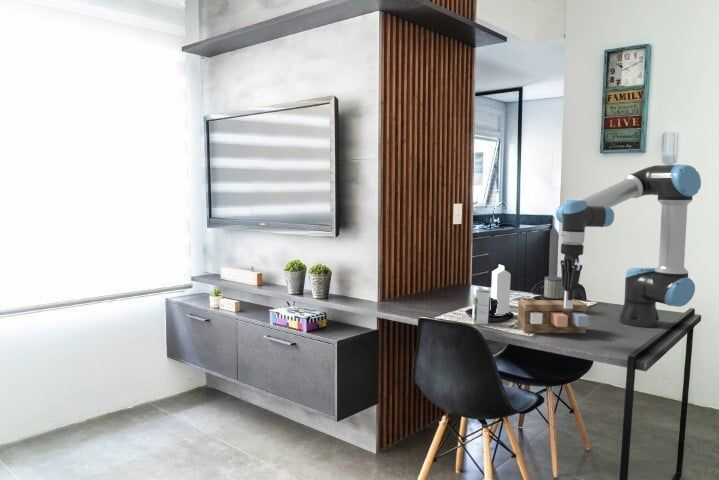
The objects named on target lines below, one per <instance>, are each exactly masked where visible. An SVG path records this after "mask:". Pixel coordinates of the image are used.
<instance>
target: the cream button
mask: <svg viewBox="0 0 719 480" xmlns="http://www.w3.org/2000/svg"><path fill="white" fill-rule="evenodd" d="M542 316H543V314H542V313H541V312H539V311H529V322H530V323H531V324H542Z"/></svg>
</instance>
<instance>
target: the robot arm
mask: <svg viewBox="0 0 719 480" xmlns="http://www.w3.org/2000/svg"><path fill="white" fill-rule="evenodd" d="M701 185H702V180H701V175H700V173H699V171H697V170H696V168H695V167H694V166H692V165H688V164H681V163H680V164H665V165H663V164H662V165H659V164H658V165H652V166H647V167H645V168H642V169H640V170H638V171H636V172H633V173H630V174H629V175H627V176H625V177H624V178H623V180H622V181H619V182H617V183H615V184H613V185H610V186H608V187H606V188H605V189H604V188H603V189H602V190H599V191H597V192H595V193H593V194H591V195H588V196H586V197H584V198H582V199H578V200H577V199H566V200H565V201H564V203H563V204H560V205H559V206H558V207H557V209H556V210H555V218H556V220H557V221H558V222H559V223H561V224H562V227H561V228H562V229H561V234H560V237H561V242H562V243H561V244H560V254H561V255H562V254H563V255H564V257H563V259H562V260H560V267H561V277H562V287H564V308H565V309H573V300H574V296H575V295H574V293H575V291H578V287H579V281H580V278H581V272H582V270H583V265H582V264H580V256H582V255H583V254H584V243H585V234H586V233H585V231H586V230H585V229H586V228H587V227H590V228H605V227H607V228H608V227H609V226H611V225H612V224H613V223H614V220H615V212H614V210H613V209H612V207H614V206H617V205H619V204H621V203H623V202H625V201H627V200H629V199H638V198H640V197H643V196H657V201H658V203H659V204H661V211H660V212H661V213H660V216H661V217H660V235H659V251H658V253H659V255H658V256H659V258H658V265H657V267H631V268H628V269H627V270H626V274H625V283H624V301H623V304H622V307H621V310H620V311H619V314H618V322H619V323H620V324H621V323H622V324H625V325H629V326H634V327H639V328H640V327H641V328H655V327H659V326H660V317H659V314H658V311H657V306H656V305H657V304H656V303H659V304H662V305H663V304H664V305H667V306H670V307H679V308H680V307H683V306H686V305H687V304H688V303H690V301H691V300H692V299H693V297H694V295H695V291H696V284H695V282H694V281H693V279H691V278H689V271H688V270H687V268H685V257H686V256H685V255H686V238H687V236H686V235H687V219H688V205H689V204H690V203H691V202H693V198H694V196H695V195H697V194H698V193H699V190H701Z"/></svg>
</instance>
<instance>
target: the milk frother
mask: <svg viewBox="0 0 719 480" xmlns="http://www.w3.org/2000/svg"><path fill="white" fill-rule="evenodd" d="M543 278H544V283H543V284H544V286H543V287H544V291H543V300H564V294H565V290H564V287H562V276H561V277H560V276H553V275H551V276H549V275H548V276H544V277H543ZM526 300H535V298H534V299H533V298H527V299H526Z"/></svg>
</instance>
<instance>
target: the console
mask: <svg viewBox="0 0 719 480" xmlns="http://www.w3.org/2000/svg"><path fill="white" fill-rule="evenodd" d="M529 311H539V312H541V313H542V314H543V316H542V324H531V323H530V322H529ZM550 311H560V312H561V313H563V314H565V315H567V316H568V322H567V327H556V326H555V325H553V324H552V323H550V322H549V315H550ZM570 311H580V312H582V313H584V314H585V315H587V316H588V304H586V303H585V302H582V301H581V300H576V299H573V309H565V308H564V300H544V299H541V300H540V299H538V300H537V299H534V300H527V299H518V302H517V321H516V322H517V323H516V324H517V325H516V326H517V327H518V328H517V327H516V328H517V329H518V330H520V329H521V330H522V331H523V333H524V334H526V333H525V332H534V333H533V334H586V332H587V331H586V330H587V329H586V328H587V327H577V326H576V325H574V324H572V323H570ZM521 330H520V331H521ZM522 331H521V332H522Z"/></svg>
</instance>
